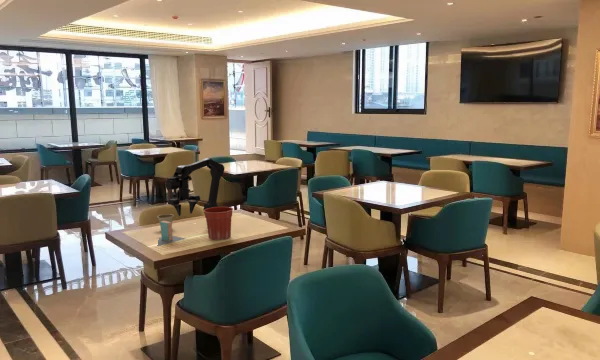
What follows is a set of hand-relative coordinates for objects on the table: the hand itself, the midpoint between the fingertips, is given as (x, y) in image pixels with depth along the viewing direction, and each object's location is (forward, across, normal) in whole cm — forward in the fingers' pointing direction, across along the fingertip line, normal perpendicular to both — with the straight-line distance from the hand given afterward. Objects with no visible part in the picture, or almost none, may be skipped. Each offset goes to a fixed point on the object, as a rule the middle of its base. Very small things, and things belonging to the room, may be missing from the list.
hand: (185, 214), depth 283 cm
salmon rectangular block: (+12, +13, 0) cm, 18 cm away
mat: (+12, +16, 0) cm, 20 cm away
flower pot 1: (+12, -1, -21) cm, 24 cm away
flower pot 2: (+12, -8, +20) cm, 25 cm away
